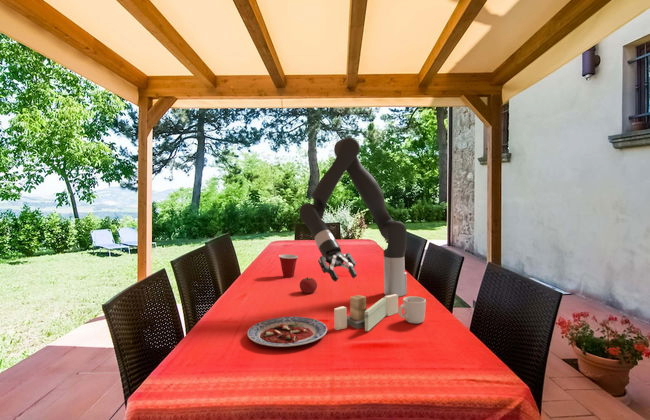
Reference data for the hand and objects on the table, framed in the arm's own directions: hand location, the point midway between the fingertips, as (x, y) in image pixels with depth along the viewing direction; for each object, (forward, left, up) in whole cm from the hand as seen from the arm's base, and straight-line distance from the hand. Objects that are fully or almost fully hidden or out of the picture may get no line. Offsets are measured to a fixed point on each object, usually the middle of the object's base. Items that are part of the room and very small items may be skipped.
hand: (345, 278), depth 137 cm
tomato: (-1, -40, -15) cm, 43 cm away
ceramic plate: (+25, +6, -15) cm, 30 cm away
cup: (-18, +15, -15) cm, 28 cm away
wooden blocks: (-6, +6, -15) cm, 17 cm away
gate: (-6, +10, -14) cm, 19 cm away
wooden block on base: (-1, +7, -15) cm, 16 cm away
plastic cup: (-4, -76, -15) cm, 78 cm away
